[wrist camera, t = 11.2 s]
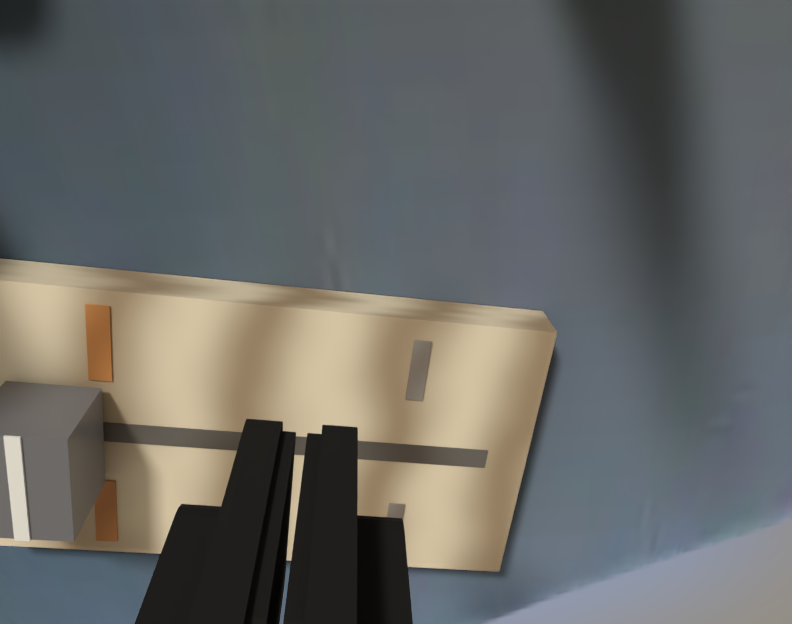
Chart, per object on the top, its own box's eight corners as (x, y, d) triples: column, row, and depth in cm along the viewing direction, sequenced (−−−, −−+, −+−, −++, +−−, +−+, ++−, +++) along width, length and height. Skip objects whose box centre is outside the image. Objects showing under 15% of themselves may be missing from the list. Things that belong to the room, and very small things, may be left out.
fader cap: (101, 388, 30) (66, 441, 26) (105, 481, 32) (73, 543, 28) (5, 380, 29) (-45, 433, 26) (15, 476, 31) (-30, 538, 28)
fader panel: (542, 311, 33) (557, 333, 31) (490, 538, 38) (499, 573, 36) (-25, 256, 30) (-57, 276, 28) (3, 510, 36) (-21, 545, 33)
